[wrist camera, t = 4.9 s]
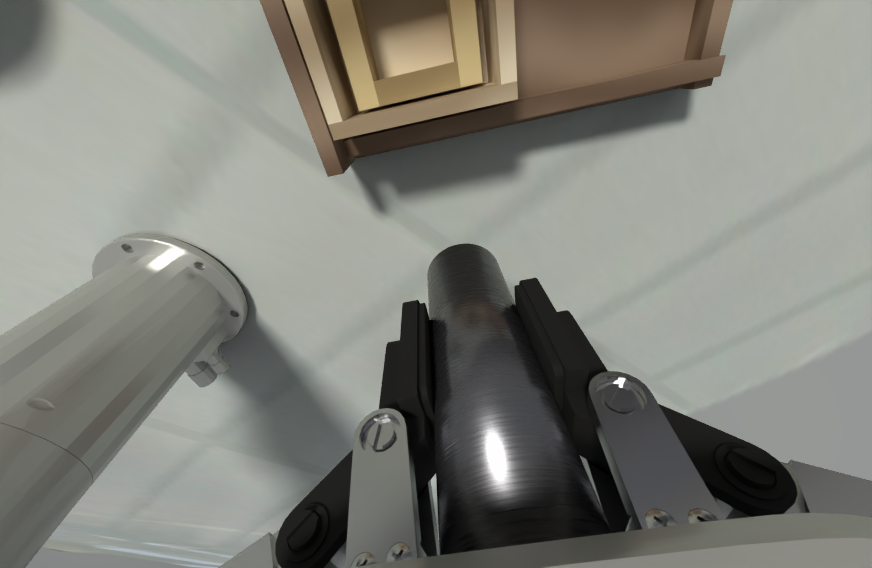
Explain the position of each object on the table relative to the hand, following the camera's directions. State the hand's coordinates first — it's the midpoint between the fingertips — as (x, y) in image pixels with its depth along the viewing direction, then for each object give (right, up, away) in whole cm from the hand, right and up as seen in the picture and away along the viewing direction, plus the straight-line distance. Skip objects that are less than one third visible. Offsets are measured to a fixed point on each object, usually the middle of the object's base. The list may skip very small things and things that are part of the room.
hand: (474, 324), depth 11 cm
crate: (-3, +17, +7) cm, 18 cm away
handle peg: (0, +2, +3) cm, 3 cm away
